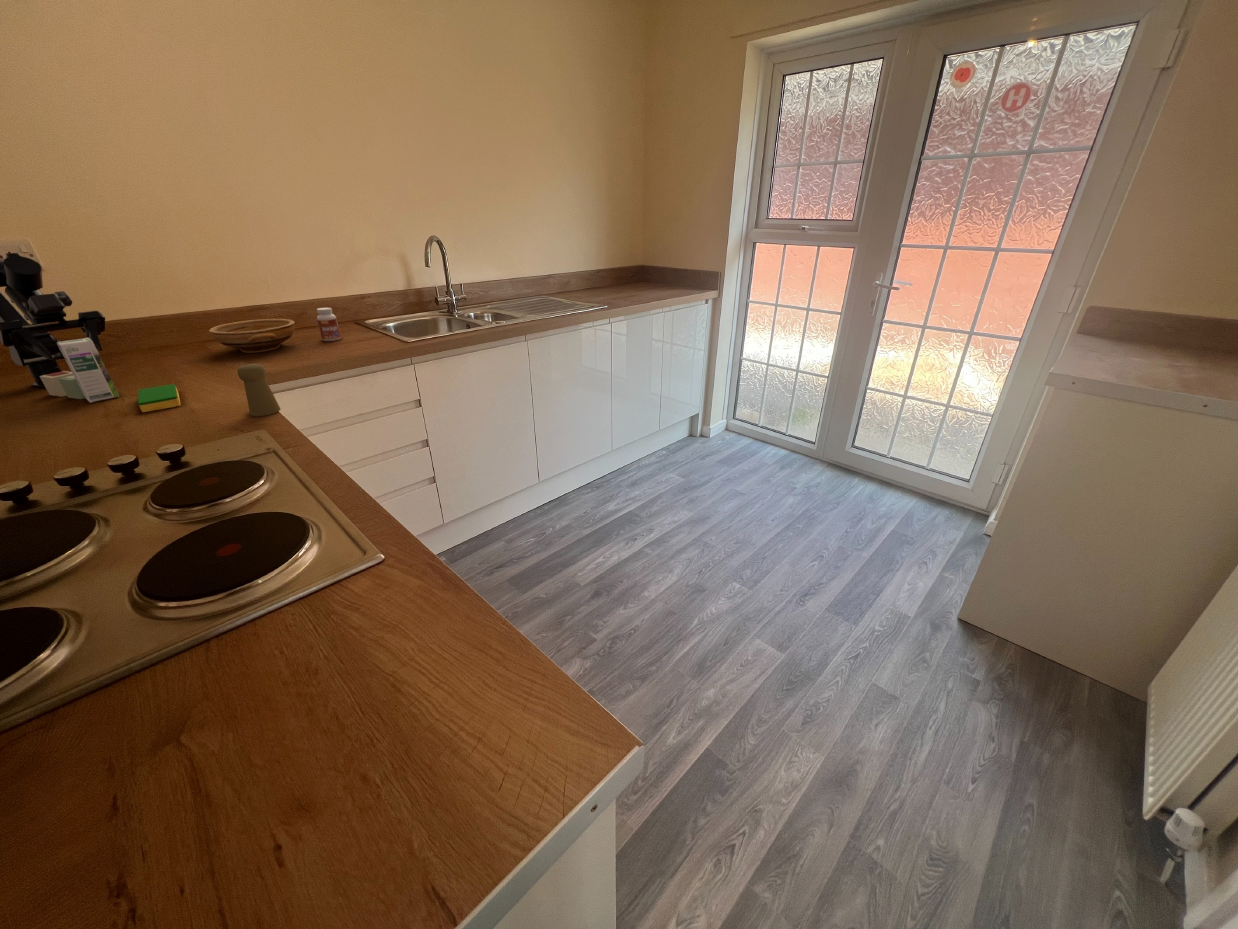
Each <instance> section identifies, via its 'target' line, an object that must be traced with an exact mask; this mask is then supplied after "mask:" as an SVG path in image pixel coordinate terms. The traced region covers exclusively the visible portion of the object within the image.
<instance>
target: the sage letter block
mask: <svg viewBox="0 0 1238 929" xmlns="http://www.w3.org/2000/svg"><path fill="white" fill-rule="evenodd" d="M59 381H60V383H61V385H62V387H63V389H64V391H65V393H66V395H67V396H66V397H67V398H68V399H73V400H74V399H75V400H84V399H86V398H85V396H84V394H83V393H82V391H81V389H80V387H79V385H78V383H77V381H76V379H75V377H74V375H72V376H68V377H63V378H59Z"/></svg>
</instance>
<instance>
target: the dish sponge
mask: <svg viewBox="0 0 1238 929" xmlns="http://www.w3.org/2000/svg"><path fill="white" fill-rule="evenodd" d="M137 391H138V393H137V394H138V395H137V396H138V397H137V404H138V406H139V408H140V411H141V412H142V413H148V412H154V411H159V410H166V409H170V408H176V407H180V406H182V405H181V399H180V394H179V391H178V388H177V386H176V384H175V383H172V384H164V385H158V386H151V387H146V388H141V389H138V390H137Z"/></svg>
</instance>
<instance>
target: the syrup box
mask: <svg viewBox="0 0 1238 929" xmlns="http://www.w3.org/2000/svg"><path fill="white" fill-rule="evenodd" d="M57 345H58V347H59V349H60V351H61V353H62V354H63V356H64V358H65V359H64V360H65V362H66V364H67V366H68V367H69V370H70V372H72V373H73V375H74V377H75V379H76V381H77V383H78V385H79V387H80V389H81V391H82V393H83V394H84V396H85V398H84V399H86V400H87V402H89V403H90V404H92V403H95V402H100V401H105V400H110V399H115V398H119V397H120V395H119V393H118V391H117V388H116V386H115V384H114V382H113V380H112V378H111V376H110V374H109V372H108V370H107V368H106V366H105V364H104V362H103V360H102V357H101V355H100V353H99V352H98V351H99V350H98V349H97V348H96V347H95V345H94V343H93V341H92V340H91V339H90V338H87V337H84V338H77V339H70V340H62V341H60V342H57Z"/></svg>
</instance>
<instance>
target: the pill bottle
mask: <svg viewBox="0 0 1238 929" xmlns="http://www.w3.org/2000/svg"><path fill="white" fill-rule="evenodd" d="M332 309H333V308H332V307H318V308H316V312H317V314H318V315H317V316H316V321H317V326H318V328H319V333H320V336H321V340H322V341H323V342H334V341H339V340H341V339H342V334H341V331H340V327H339V324H338V320H337V316H336V315H335V314H334V313H333V310H332Z"/></svg>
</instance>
